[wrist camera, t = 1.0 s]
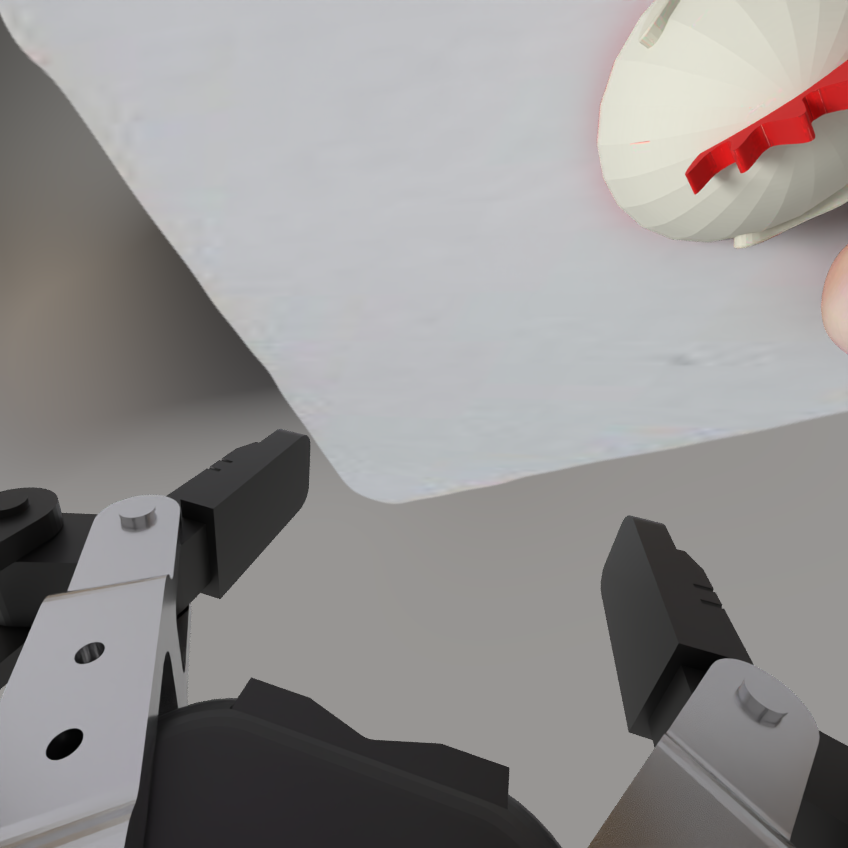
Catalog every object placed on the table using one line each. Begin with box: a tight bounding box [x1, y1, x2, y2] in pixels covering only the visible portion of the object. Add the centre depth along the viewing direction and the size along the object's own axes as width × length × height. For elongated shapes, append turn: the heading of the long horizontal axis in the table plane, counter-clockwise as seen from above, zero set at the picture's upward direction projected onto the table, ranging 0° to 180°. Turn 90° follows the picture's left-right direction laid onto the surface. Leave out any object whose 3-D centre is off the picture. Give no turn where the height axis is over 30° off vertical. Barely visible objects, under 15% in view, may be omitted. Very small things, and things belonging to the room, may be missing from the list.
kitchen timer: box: [597, 0, 848, 249], centre depth 19 cm, size 14×14×15 cm
